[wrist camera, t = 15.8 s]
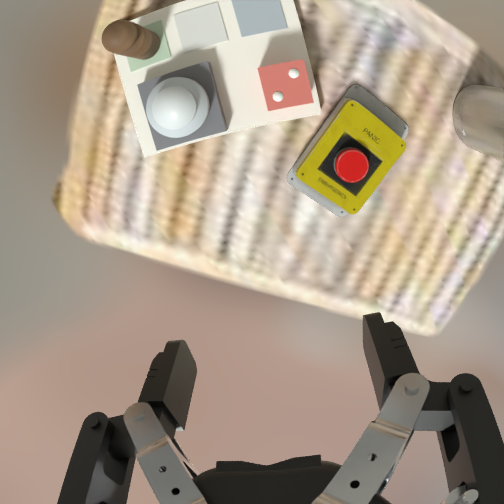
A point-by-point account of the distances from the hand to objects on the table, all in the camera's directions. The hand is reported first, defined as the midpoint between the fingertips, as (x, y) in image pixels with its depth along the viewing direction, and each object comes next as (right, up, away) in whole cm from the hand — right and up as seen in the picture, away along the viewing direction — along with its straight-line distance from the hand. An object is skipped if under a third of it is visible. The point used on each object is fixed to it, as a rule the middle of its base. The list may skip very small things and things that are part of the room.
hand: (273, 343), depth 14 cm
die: (+2, +22, +18) cm, 28 cm away
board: (-5, +25, +18) cm, 31 cm away
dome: (-8, +20, +19) cm, 29 cm away
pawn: (-13, +27, +15) cm, 34 cm away
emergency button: (+11, +16, +23) cm, 30 cm away
